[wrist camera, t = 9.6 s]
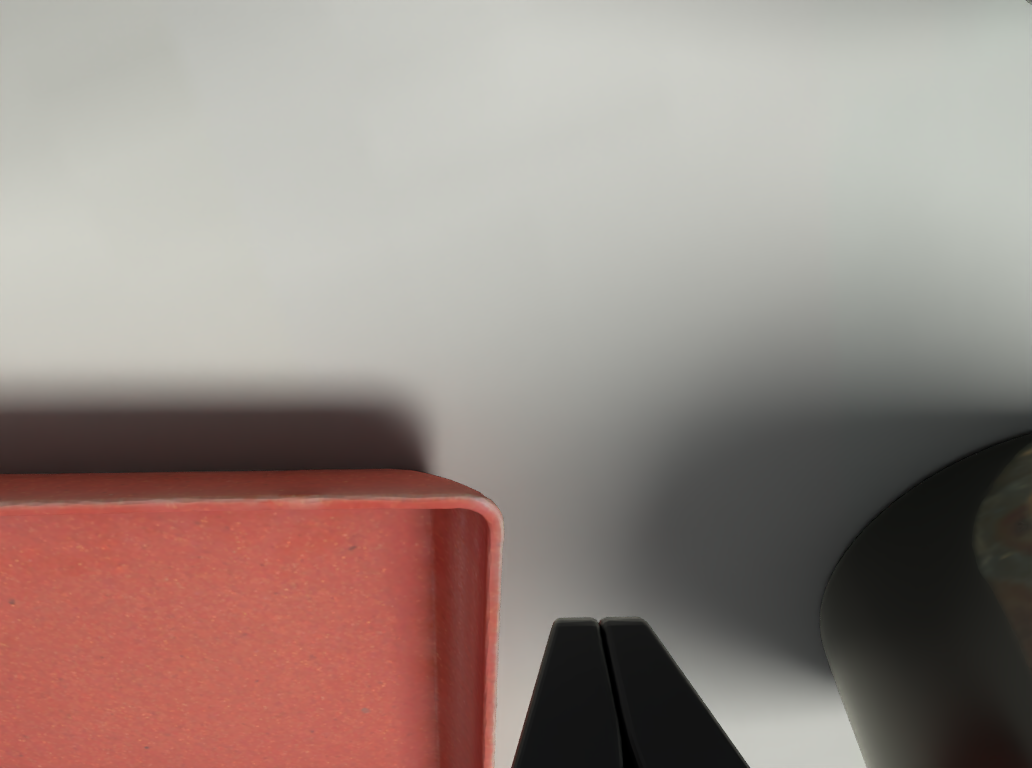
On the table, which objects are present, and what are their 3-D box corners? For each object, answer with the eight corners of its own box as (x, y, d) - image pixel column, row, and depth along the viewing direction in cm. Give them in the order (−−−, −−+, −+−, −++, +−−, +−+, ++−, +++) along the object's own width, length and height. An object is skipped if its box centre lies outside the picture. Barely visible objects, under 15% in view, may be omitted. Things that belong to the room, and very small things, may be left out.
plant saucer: (488, 801, 34) (491, 898, 31) (-40, 819, 33) (-83, 922, 30) (500, 399, 23) (506, 497, 20) (-292, 406, 22) (-395, 510, 19)
